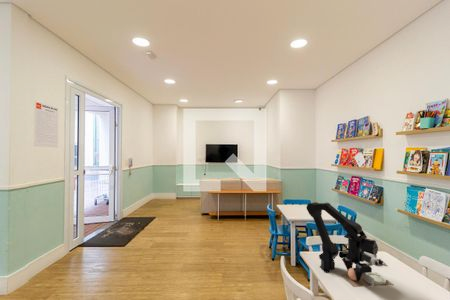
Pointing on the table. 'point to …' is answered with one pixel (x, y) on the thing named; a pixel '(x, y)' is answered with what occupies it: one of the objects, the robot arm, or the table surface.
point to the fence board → (364, 281)
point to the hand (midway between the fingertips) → (354, 277)
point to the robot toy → (374, 259)
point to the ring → (378, 278)
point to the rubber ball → (352, 274)
